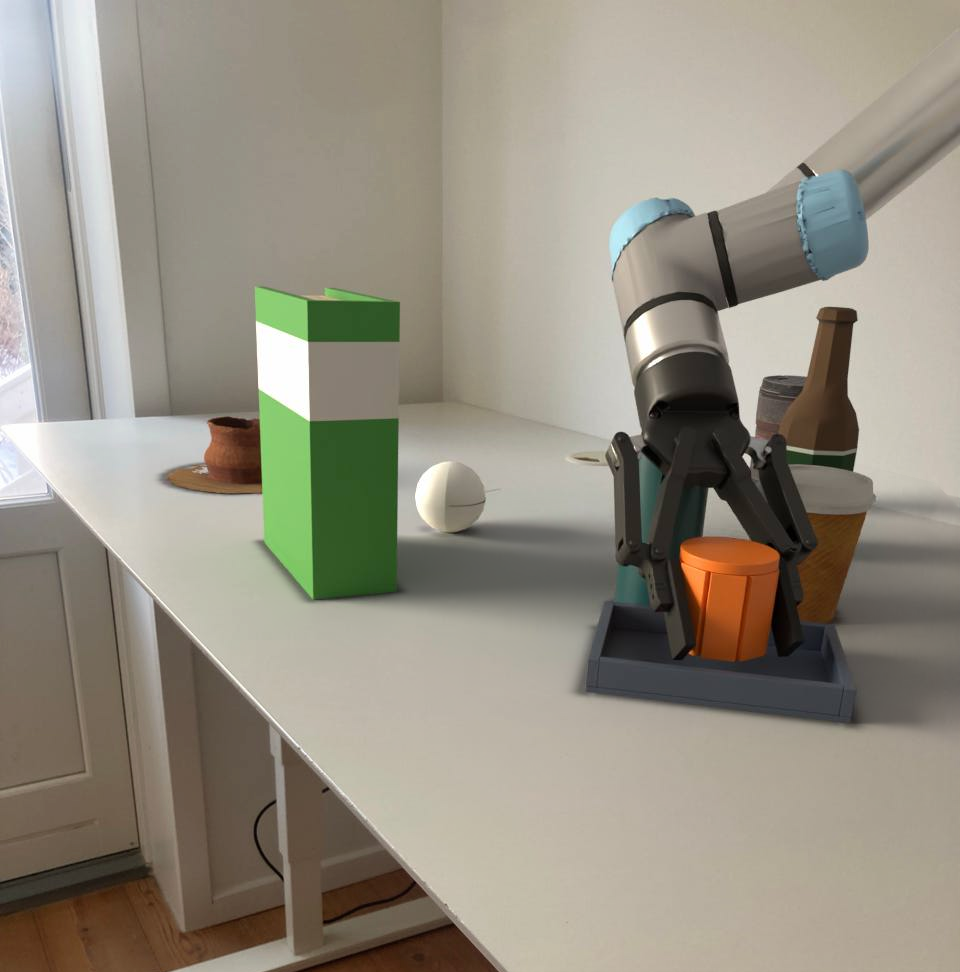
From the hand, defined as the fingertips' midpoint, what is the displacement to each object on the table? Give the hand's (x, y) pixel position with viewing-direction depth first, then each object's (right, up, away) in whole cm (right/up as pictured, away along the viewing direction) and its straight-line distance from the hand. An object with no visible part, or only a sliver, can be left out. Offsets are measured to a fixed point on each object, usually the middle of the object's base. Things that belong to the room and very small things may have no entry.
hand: (738, 650), depth 71 cm
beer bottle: (+16, +10, +36) cm, 41 cm away
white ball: (-20, +12, +38) cm, 44 cm away
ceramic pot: (-47, +21, +56) cm, 76 cm away
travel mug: (+18, +17, +54) cm, 59 cm away
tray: (-1, -2, +4) cm, 5 cm away
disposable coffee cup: (+9, +3, +17) cm, 20 cm away
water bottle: (-3, +3, +16) cm, 16 cm away
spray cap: (-1, +1, +3) cm, 4 cm away
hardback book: (-32, +7, +24) cm, 41 cm away
